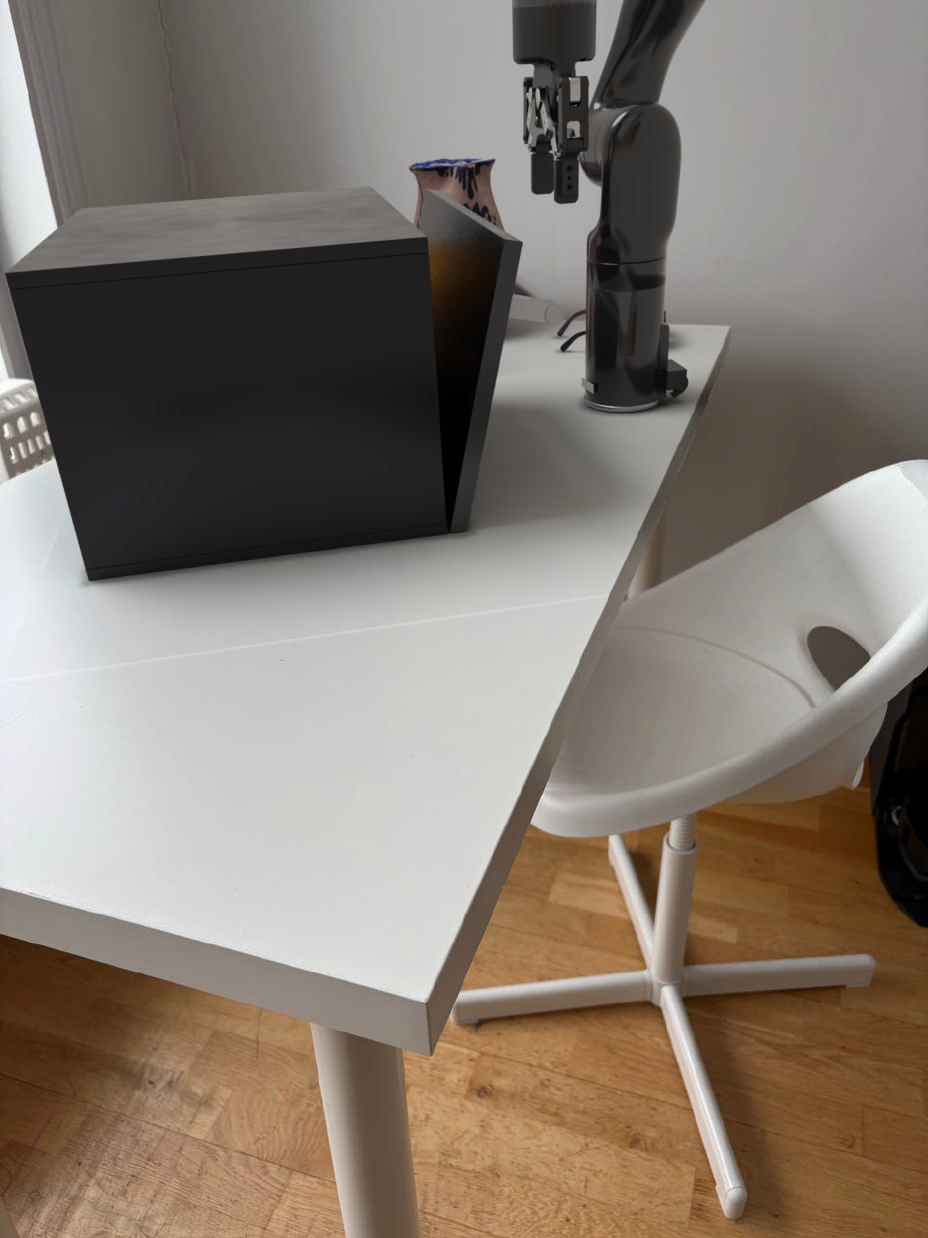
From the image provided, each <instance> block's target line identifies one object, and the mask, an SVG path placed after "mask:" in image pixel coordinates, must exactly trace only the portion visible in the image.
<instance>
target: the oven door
mask: <svg viewBox="0 0 928 1238" xmlns="http://www.w3.org/2000/svg"><path fill="white" fill-rule="evenodd" d="M419 230H420V231H421V232H423V233H424V234H425V235H426V236H427V237H428V248H429V252H428V253H429V263H430V278H431V294H432V309H433V324H434V339H435V355H436V370H437V385H438V400H439V416H440V431H441V446H442V462H443V477H444V492H445V507H446V524H447V529H448V530H449V532H451V533H467V532H468V530H469V524H470V518H471V514H472V508H473V503H474V497H475V493H476V488H477V482H478V477H479V472H480V466H481V462H482V456H483V452H484V447H485V441H486V435H487V432H488V426H489V421H490V415H491V410H492V406H493V400H494V396H495V390H496V384H497V379H498V374H499V370H500V364H501V359H502V354H503V350H504V349H503V348H504V344H505V337H506V333H507V327H508V323H509V319H512V320H513V319H514V320H519V321H526V322H532V323H533V322H534V323H539V324H545V325H551V326H556V325H559V324H560V323H562V322H563V320H564V318H565V309H564V308H563V306H561V304H560V303H558V302H556V301H555V300H554V299H552V298H551V297H549V296H548V295H547V294H545V293H544V292H543V291H541V290H540V289H539V288H537V287H536V286H535V285H533V284H532V283H531V282H529V281H528V280H527V279H525V278H523V277H522V276H521V275H520V274H518V272H519V266H520V261H521V255H522V249H523V246H524V245H523V244H524V242H523V241H521V240H520V239H519V238H517V237H515V236H513V235H512V234H510V233H508V232H507V231H506V230H505V229H504V230H505V231H504V230H502V229H500V228H499V227H497V226H495V225H494V224H492V223H490V222H489V221H487V220H485V219H484V218H482V217H481V216H479V215H477V214H476V213H474V212H472V211H471V210H469V209H467V208H466V207H464V206H462V205H461V204H459V203H457V202H456V201H454V200H452V199H451V198H449V197H448V196H446V195H444V194H443V193H441V192H439V191H437V190H431V189H426V188H425V191H424V197H423V204H422V211H421V218H420V225H419Z"/></svg>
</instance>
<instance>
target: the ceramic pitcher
mask: <svg viewBox="0 0 928 1238" xmlns="http://www.w3.org/2000/svg"><path fill="white" fill-rule="evenodd" d="M496 160H497V159H496V158H482V157H481V158H480V157H479V158H453V159H449V158H443V157H441V158H437V159H433V160H426V161H421V162H415V163H413V164H411V165H409V166H408V169H409V171H410V172H411V173H412V174H413V175H414V177H415V179H416V182H417V183H416V184H417V201H416V207H415V211H414V212H415V213H414V218H413V221H412V224H414V225H415V226H416V227H417V228H418V229H419V225H420V218H421V211H422V204H423V197H424V191H425V188H426V189H431V190H437V191H439V192H441V193H443V194H444V195H446V196H448V197H449V198H451V199H452V200H454V201H456V202H457V203H459V204H461V205H462V206H464V207H466V208H467V209H469V210H471V211H472V212H474V213H476V214H477V215H479V216H481V217H482V218H484V219H485V220H487V221H489V222H490V223H492V224H494V225H495V226H497V227H499V228H500V229H502V230H504V231H505V232H506V230H505V227H504V225H503V222H502V218H501V215H500V211H499V210H498V207H497V203H496V201H495V196H494V194H493V189H492V183H491V175H492V174H491V173H492V169H493V167H494V165H495V162H496Z"/></svg>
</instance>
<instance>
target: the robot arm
mask: <svg viewBox="0 0 928 1238" xmlns="http://www.w3.org/2000/svg"><path fill="white" fill-rule="evenodd" d="M597 2H598V0H511V7H512V8H511V11H512V12H511V13H512V17H511V18H512V19H511V21H512V23H511V24H512V59H513V60H512V61H514V63H515V64H516V65H519V66H521V65H532V66H533V68H534V69H533V75H532V76H524V78H523V81H522V88H523V91H522V92H523V95H522V96H523V97H522V98H523V101H522V103H523V109H522V110H523V112H522V113H523V115H522V116H523V119H522V120H523V125H522V126H523V127H522V128H523V133H522V141H523V145H526V147H527V150H528V153H530V191H531V193H532V194H534V195H535V196H538V195H539V196H540V195H550V194H552V193H553V201H554V202H555V203H556V204H558V205H567V204H576V203H577V202H578V200H579V195H580V194H579V192H580V191H579V190H580V189H579V188H580V168H581V171H582V173H583V174H584V176H585V178H586V179H587V180H588V181H589V182H590V183H591V184H593V185H594V186H596V187H598V188H601V191H600V206H599V207H600V209H599V218H598V220H597V222H596V225H595V226H594V227H593V228H592V229H591V230H590V231H589V232H588V234H587V237H586V254H585V255H586V259H585V260H586V261H585V264H586V265H585V310H586V314H585V331H586V335H585V348H584V349H585V350H584V351H585V355H584V356H585V357H584V359H585V360H584V361H585V363H584V377H581V387H582V388H584V395H583V402H584V404H585V405H586V406H587V407H589V408H591V409H594V410H597V411H601V412H607V413H623V414H624V413H635V412H636V413H637V412H642V411H646V410H650V409H652V408H655V407H657V406H661V405H666V404H667V392H668V391H670V392H669V395H670V396H671V397H672V398H673V399H677V397H679V396H680V395H682V394H683V393H684V392H686V390H687V389H688V387H689V378H688V369H687V368H686V367H684V366H683V365H681V364H679V362H677V361H676V360H674V359H672V358H670V359H669V352H670V350H669V349H670V333H671V332H670V329H671V327H670V325H669V323H667V322H666V323H665V322H664V310H665V306H666V305H665V303H666V285H667V283H666V281H667V263H668V261H667V260H668V247H669V246H668V245H669V241H670V238H671V236H672V234H673V231H674V229H675V225H676V222H677V221H676V220H677V213H678V205H679V204H678V203H679V202H678V201H679V193H680V192H679V191H680V181H681V169H682V154H683V153H682V152H683V151H682V138H681V137H682V136H681V131H680V126H679V124H678V122H677V120H676V118H675V116H674V114H673V113H672V112H671V111H670V109H668V108H667V107H666V106H664V105H663V104H660V100H661V96H662V92H663V89H664V85H665V82H666V78H667V75H668V71H669V69H670V66H671V64H672V62H673V58H674V56H675V54H676V53H677V50H678V48H679V47H680V44H681V43H682V41H683V39H684V38H685V36H686V34H687V33H688V31H689V30H690V27H691V26H692V25H693V23H694V21H695V19H696V18H697V16H699V13H700V12H701V10H702V8H703V7H704V5H705V4H706V2H707V0H622V2H621V6H620V10H619V14H618V18H617V22H616V25H615V31H614V33H613V37H612V41H611V44H610V47H609V50H608V53H607V57H606V58H605V59H606V60H605V62H604V65H603V68H602V71H601V73H600V75H599V79H598V81H597V84H596V86H595V89H594V92H593V95H592V97H591V100H590V99H589V97H590V96H589V94H590V91H589V90H590V88H589V87H590V80H589V77H588V75H577V69H576V64H577V63H581V62H582V63H583V62H584V63H585V62H592V61H593V60H594V59H595V57H596V54H597V52H596V47H597V45H596V44H597V7H598V6H597V4H598V3H597ZM589 100H590V101H589Z"/></svg>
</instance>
